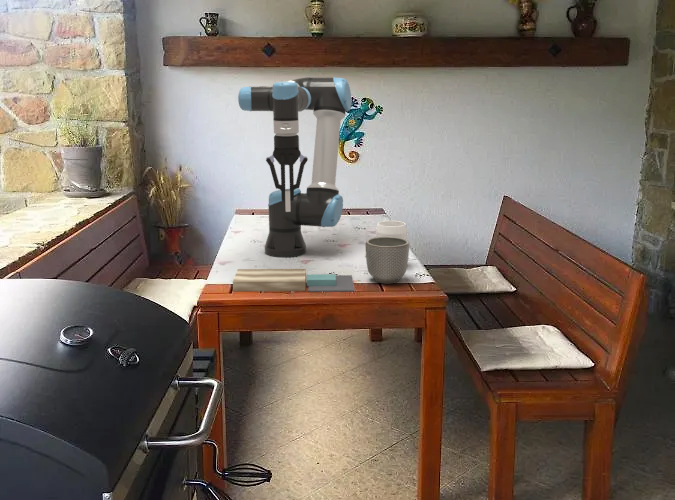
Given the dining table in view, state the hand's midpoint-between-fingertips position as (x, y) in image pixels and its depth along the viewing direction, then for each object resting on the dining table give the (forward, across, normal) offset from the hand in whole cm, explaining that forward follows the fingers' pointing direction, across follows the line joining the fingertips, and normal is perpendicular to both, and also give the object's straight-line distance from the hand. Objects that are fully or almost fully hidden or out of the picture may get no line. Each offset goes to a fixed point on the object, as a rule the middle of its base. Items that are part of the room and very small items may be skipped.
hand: (288, 210), depth 222 cm
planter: (+24, +31, -1) cm, 39 cm away
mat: (+23, +13, -3) cm, 27 cm away
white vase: (+24, +34, +16) cm, 45 cm away
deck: (+23, -6, -3) cm, 24 cm away
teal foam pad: (+23, +10, -4) cm, 25 cm away
